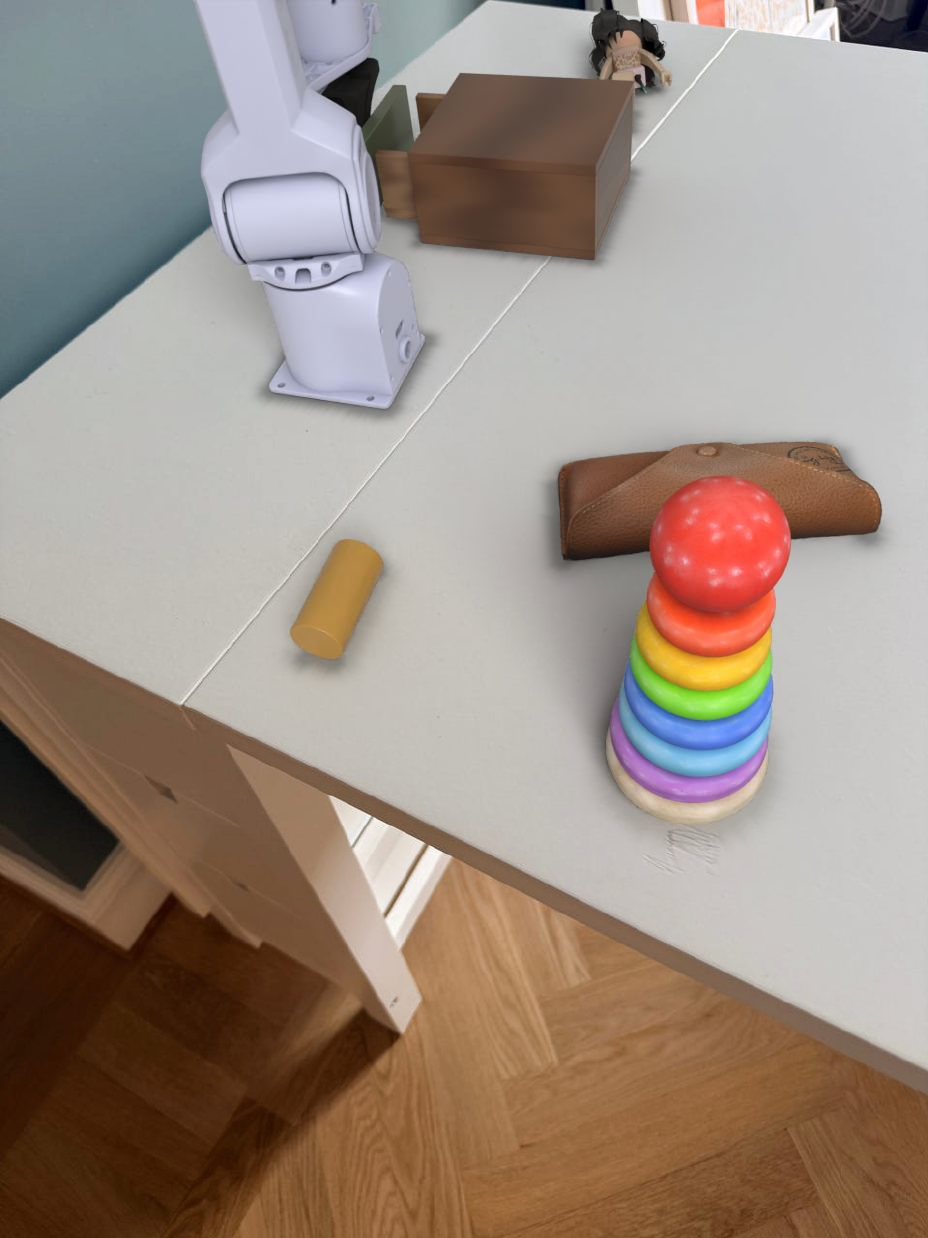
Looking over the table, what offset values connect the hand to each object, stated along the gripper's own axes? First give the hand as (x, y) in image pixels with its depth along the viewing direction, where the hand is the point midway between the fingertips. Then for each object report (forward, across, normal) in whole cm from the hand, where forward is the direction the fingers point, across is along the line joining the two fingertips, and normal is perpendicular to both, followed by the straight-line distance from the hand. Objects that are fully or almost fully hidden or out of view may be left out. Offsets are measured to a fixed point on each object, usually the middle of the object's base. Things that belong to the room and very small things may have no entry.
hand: (355, 159), depth 80 cm
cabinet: (+3, 0, +15) cm, 15 cm away
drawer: (+2, 0, +6) cm, 7 cm away
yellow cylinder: (+3, +43, +16) cm, 46 cm away
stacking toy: (+3, +47, +37) cm, 60 cm away
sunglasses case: (+3, +30, +35) cm, 46 cm away
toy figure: (+3, -20, +19) cm, 28 cm away
